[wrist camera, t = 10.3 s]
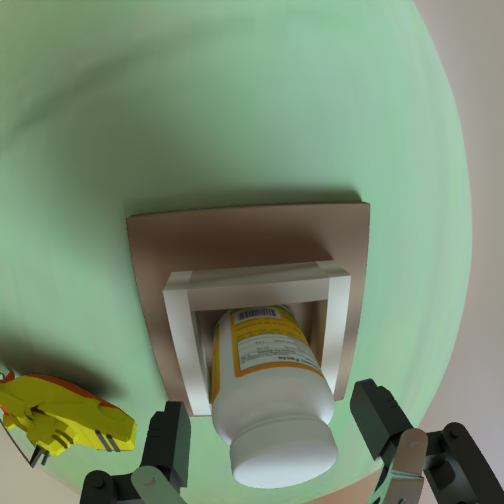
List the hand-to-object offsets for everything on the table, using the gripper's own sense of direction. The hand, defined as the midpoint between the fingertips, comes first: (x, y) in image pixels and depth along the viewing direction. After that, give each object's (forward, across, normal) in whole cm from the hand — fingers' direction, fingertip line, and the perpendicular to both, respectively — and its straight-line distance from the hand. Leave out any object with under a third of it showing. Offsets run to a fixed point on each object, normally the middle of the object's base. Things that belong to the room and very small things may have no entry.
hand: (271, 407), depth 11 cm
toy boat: (+7, +19, +7) cm, 22 cm away
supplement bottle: (+6, 0, 0) cm, 6 cm away
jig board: (+7, 0, 0) cm, 7 cm away
